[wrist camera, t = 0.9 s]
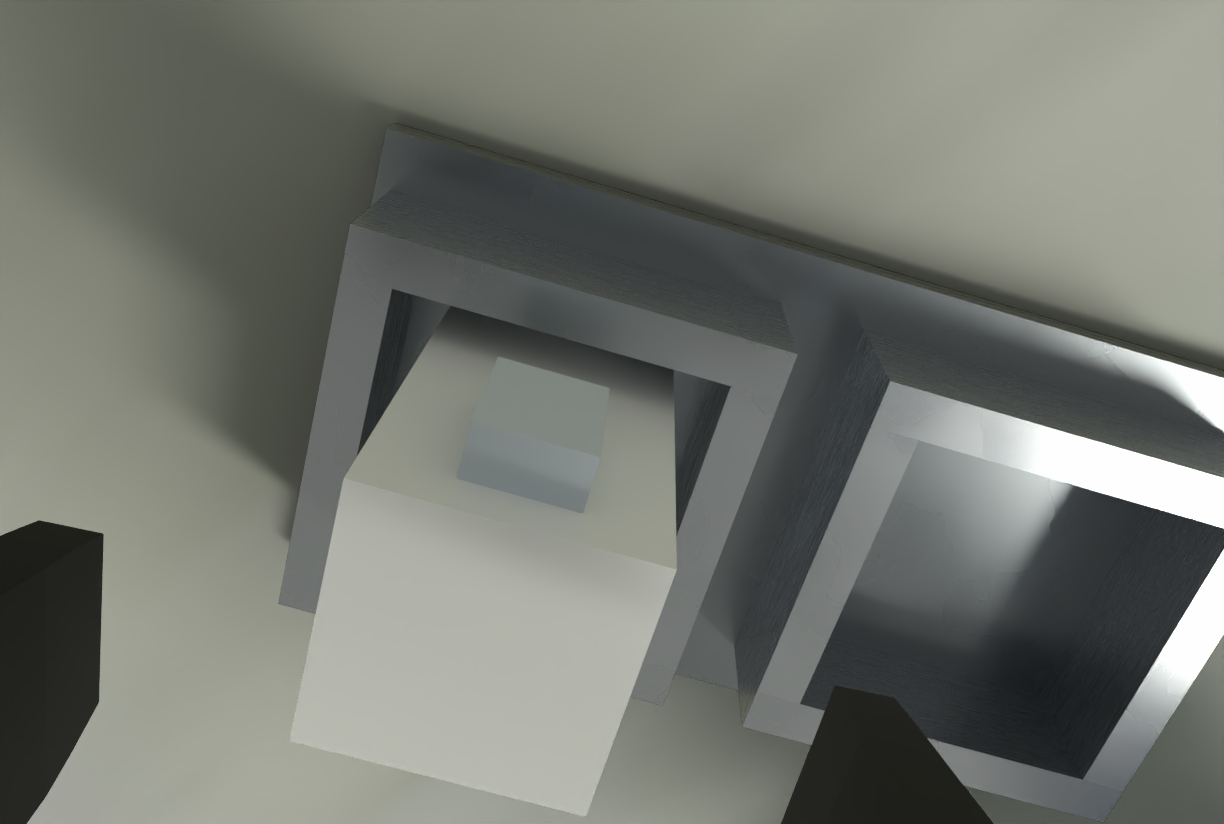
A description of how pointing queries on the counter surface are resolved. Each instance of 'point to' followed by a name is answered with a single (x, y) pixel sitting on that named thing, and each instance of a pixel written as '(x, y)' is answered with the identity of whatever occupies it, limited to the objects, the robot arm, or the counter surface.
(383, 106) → the counter surface
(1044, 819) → the counter surface
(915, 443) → the panel
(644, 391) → the plug
